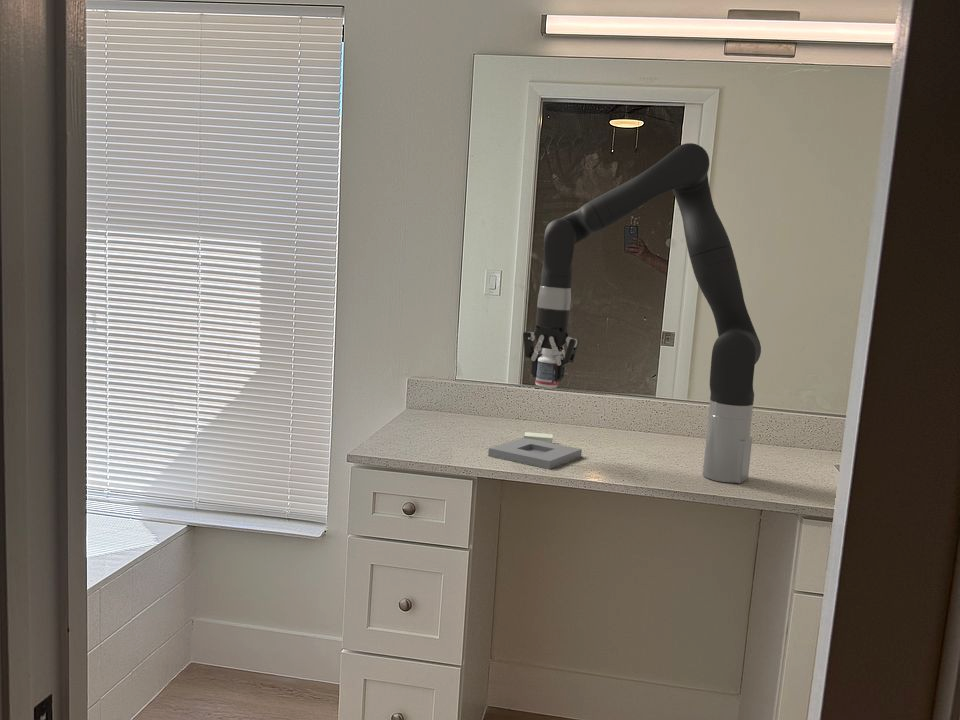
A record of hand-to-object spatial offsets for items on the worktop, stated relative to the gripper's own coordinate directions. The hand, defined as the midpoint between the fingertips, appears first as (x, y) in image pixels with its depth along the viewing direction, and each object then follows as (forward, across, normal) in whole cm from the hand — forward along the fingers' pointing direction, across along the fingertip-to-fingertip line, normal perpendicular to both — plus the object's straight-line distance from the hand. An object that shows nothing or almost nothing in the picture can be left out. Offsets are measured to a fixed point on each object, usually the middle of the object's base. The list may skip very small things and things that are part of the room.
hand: (546, 378), depth 200 cm
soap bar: (+19, +6, -10) cm, 22 cm away
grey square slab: (+18, 0, +2) cm, 18 cm away
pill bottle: (+2, 0, 0) cm, 2 cm away
